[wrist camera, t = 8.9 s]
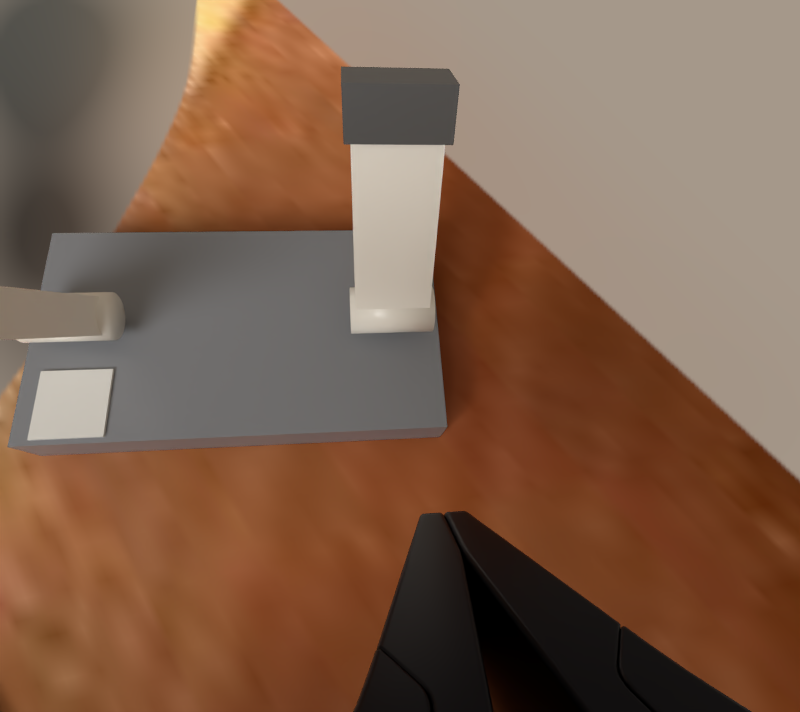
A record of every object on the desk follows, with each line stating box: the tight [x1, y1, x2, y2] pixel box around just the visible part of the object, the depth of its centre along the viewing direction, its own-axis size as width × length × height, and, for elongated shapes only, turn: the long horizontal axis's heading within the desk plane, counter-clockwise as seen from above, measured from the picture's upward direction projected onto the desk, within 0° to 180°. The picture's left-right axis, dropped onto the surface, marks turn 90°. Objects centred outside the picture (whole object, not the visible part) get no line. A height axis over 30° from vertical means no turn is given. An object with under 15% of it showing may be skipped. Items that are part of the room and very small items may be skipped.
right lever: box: [341, 67, 460, 334], centre depth 17 cm, size 2×3×9 cm
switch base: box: [8, 230, 447, 456], centre depth 21 cm, size 9×16×2 cm, turn 93°
